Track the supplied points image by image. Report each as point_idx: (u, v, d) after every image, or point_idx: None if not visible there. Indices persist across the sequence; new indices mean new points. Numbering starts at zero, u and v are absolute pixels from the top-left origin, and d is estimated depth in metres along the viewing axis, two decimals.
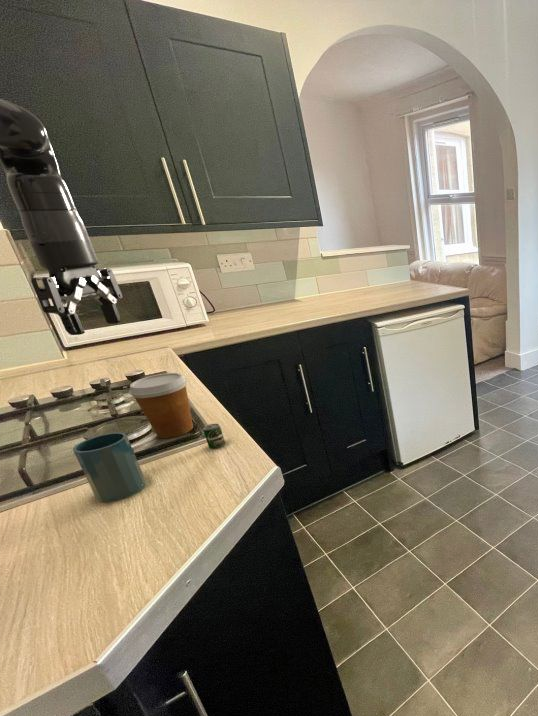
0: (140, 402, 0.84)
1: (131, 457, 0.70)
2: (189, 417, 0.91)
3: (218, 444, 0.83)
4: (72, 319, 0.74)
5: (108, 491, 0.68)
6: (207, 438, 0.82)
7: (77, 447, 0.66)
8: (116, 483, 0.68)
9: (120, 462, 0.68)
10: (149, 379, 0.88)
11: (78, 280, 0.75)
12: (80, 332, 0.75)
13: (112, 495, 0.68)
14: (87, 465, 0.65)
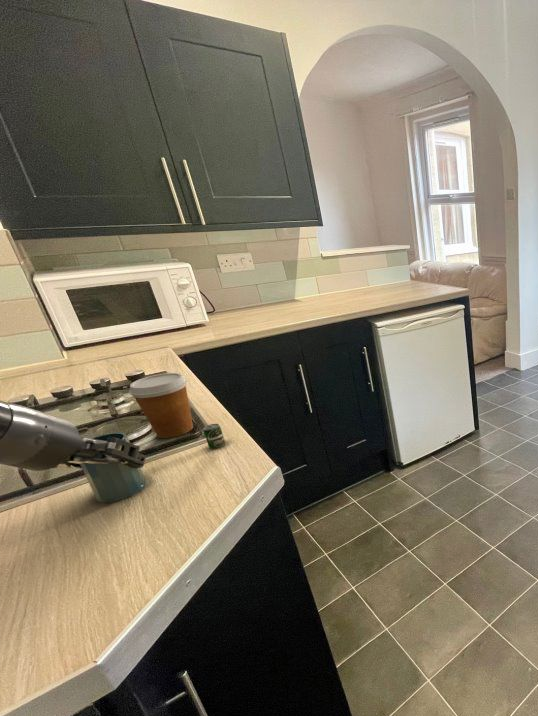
0: (140, 402, 0.84)
1: None
2: (189, 417, 0.91)
3: (218, 444, 0.83)
4: (80, 465, 0.68)
5: (108, 491, 0.68)
6: (207, 438, 0.82)
7: None
8: (117, 483, 0.68)
9: None
10: (149, 379, 0.88)
11: None
12: None
13: (112, 495, 0.68)
14: (87, 465, 0.65)
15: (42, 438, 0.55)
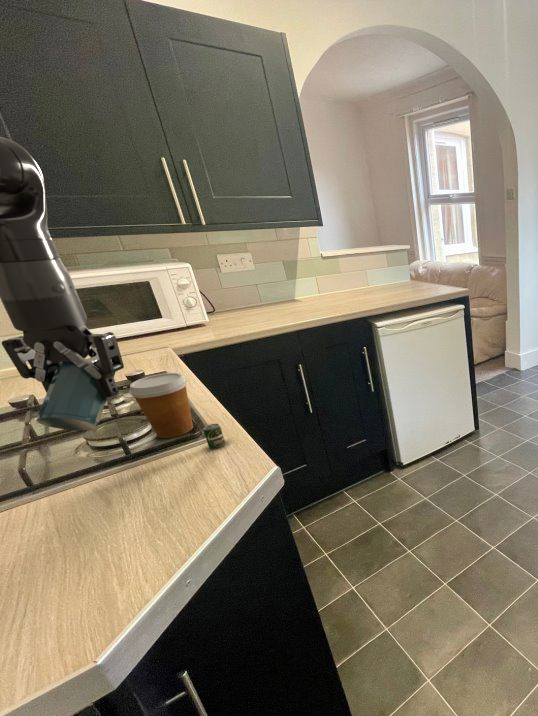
0: (140, 402, 0.84)
1: None
2: (189, 417, 0.91)
3: (218, 444, 0.83)
4: None
5: (58, 404, 0.60)
6: (207, 438, 0.82)
7: None
8: (74, 398, 0.62)
9: (93, 381, 0.64)
10: (149, 379, 0.88)
11: (35, 345, 0.60)
12: None
13: (59, 409, 0.60)
14: (61, 372, 0.62)
15: (61, 288, 0.59)
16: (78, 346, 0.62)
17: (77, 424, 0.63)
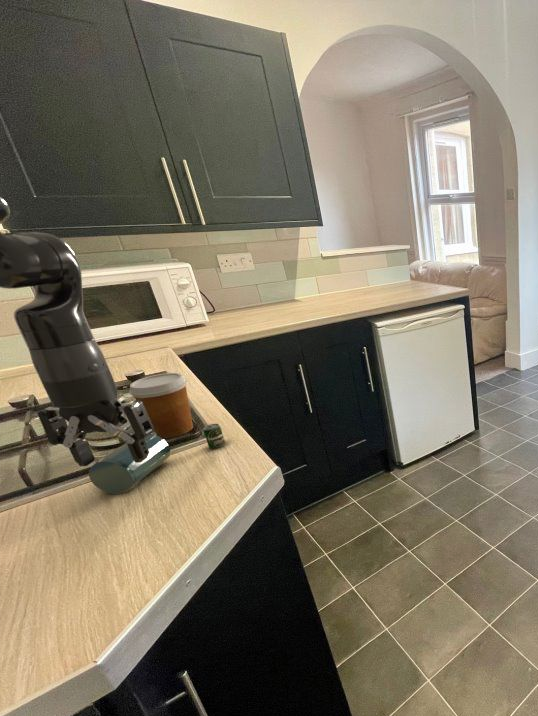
0: None
1: (157, 459, 0.75)
2: (189, 417, 0.91)
3: (218, 444, 0.83)
4: None
5: (118, 455, 0.70)
6: (207, 438, 0.82)
7: None
8: None
9: (153, 450, 0.74)
10: (149, 379, 0.88)
11: (70, 418, 0.65)
12: (80, 464, 0.69)
13: (116, 458, 0.69)
14: None
15: (95, 367, 0.63)
16: (110, 418, 0.66)
17: (118, 479, 0.69)
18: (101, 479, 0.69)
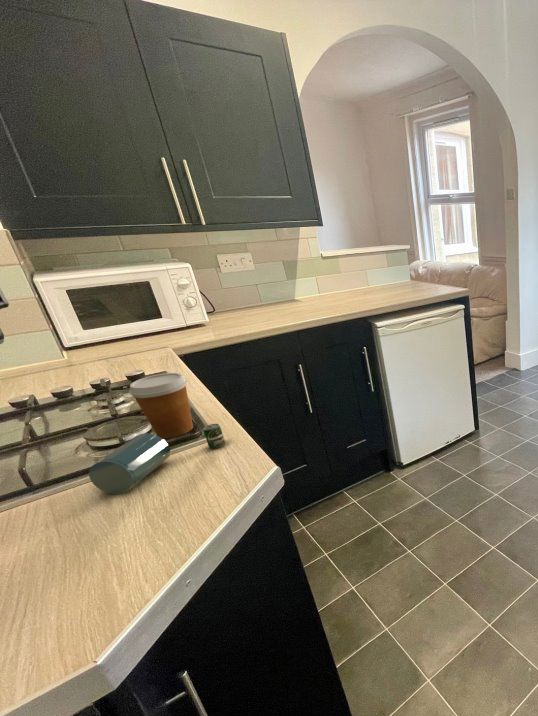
0: (140, 402, 0.84)
1: (157, 459, 0.75)
2: (189, 417, 0.91)
3: (218, 444, 0.83)
4: None
5: (118, 455, 0.70)
6: (207, 438, 0.82)
7: None
8: (132, 454, 0.71)
9: (153, 450, 0.74)
10: (149, 379, 0.88)
11: None
12: None
13: (116, 458, 0.69)
14: (133, 440, 0.74)
15: None
16: None
17: (118, 479, 0.69)
18: (101, 479, 0.69)
